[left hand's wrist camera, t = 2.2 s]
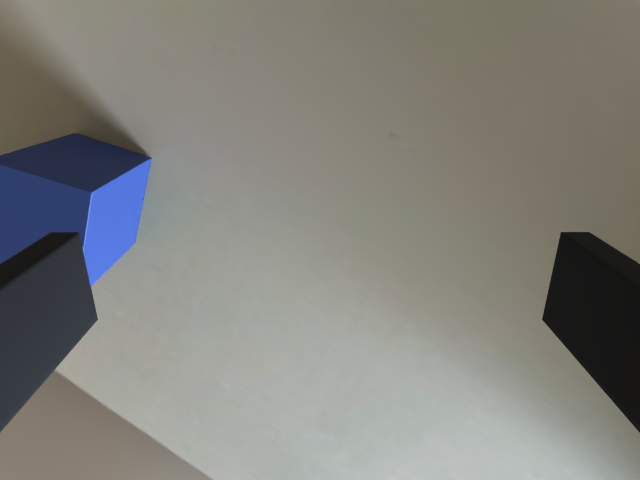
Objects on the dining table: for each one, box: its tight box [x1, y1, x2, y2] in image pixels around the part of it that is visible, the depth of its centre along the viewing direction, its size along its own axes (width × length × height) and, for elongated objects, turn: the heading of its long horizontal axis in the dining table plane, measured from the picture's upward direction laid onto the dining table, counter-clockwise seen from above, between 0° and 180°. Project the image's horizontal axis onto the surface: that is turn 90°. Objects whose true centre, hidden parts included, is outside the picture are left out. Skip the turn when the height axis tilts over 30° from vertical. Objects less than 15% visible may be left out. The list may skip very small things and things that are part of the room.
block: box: [0, 133, 151, 286], centre depth 29 cm, size 6×7×9 cm
